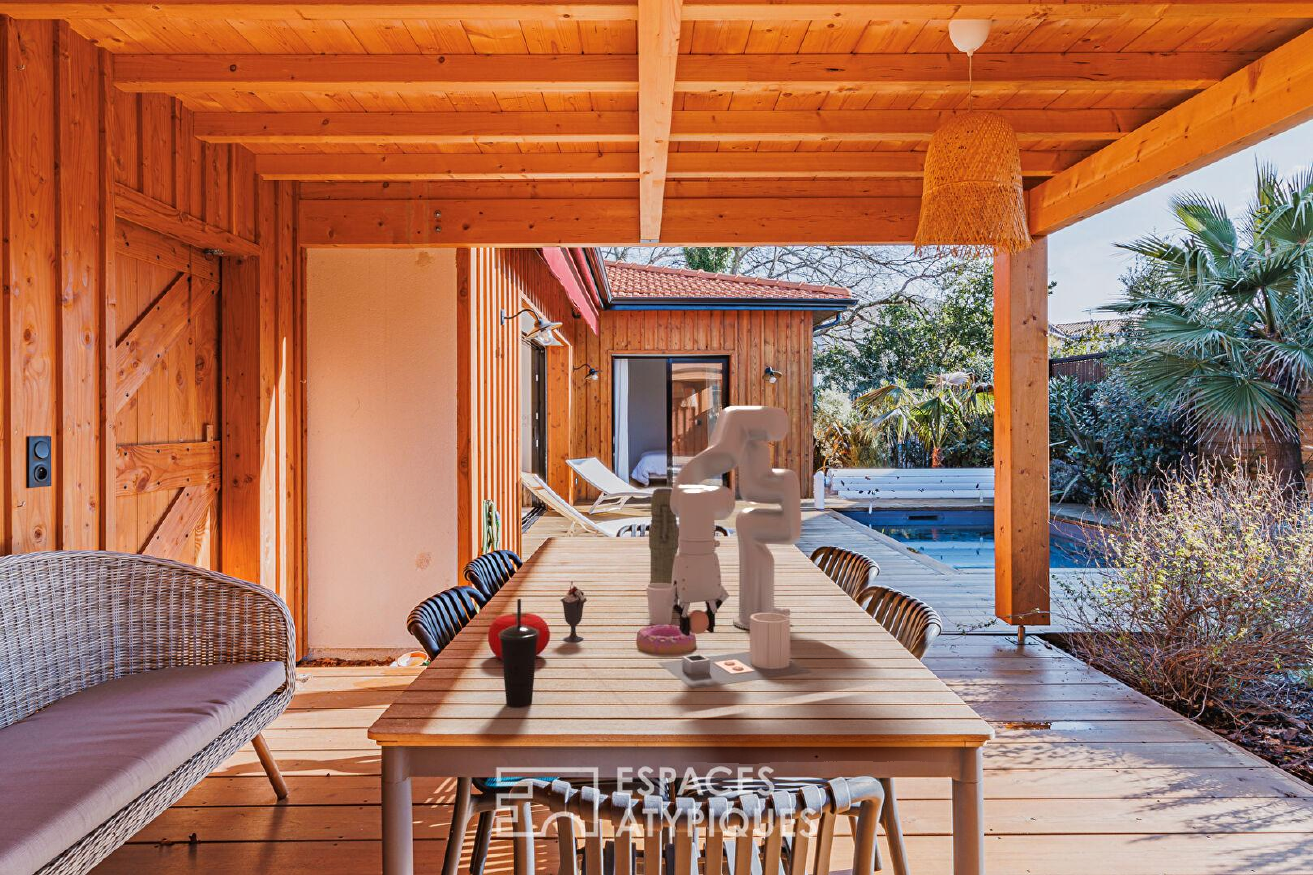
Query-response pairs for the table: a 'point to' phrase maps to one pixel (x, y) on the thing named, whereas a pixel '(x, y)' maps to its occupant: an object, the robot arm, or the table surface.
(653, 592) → the dixie cup
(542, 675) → the table surface
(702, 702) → the table surface
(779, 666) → the tube
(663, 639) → the donut
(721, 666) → the board
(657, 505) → the olive tall column
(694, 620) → the ball
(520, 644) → the drinking cup
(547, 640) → the tomato
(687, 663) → the grey hollow block
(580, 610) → the sundae
